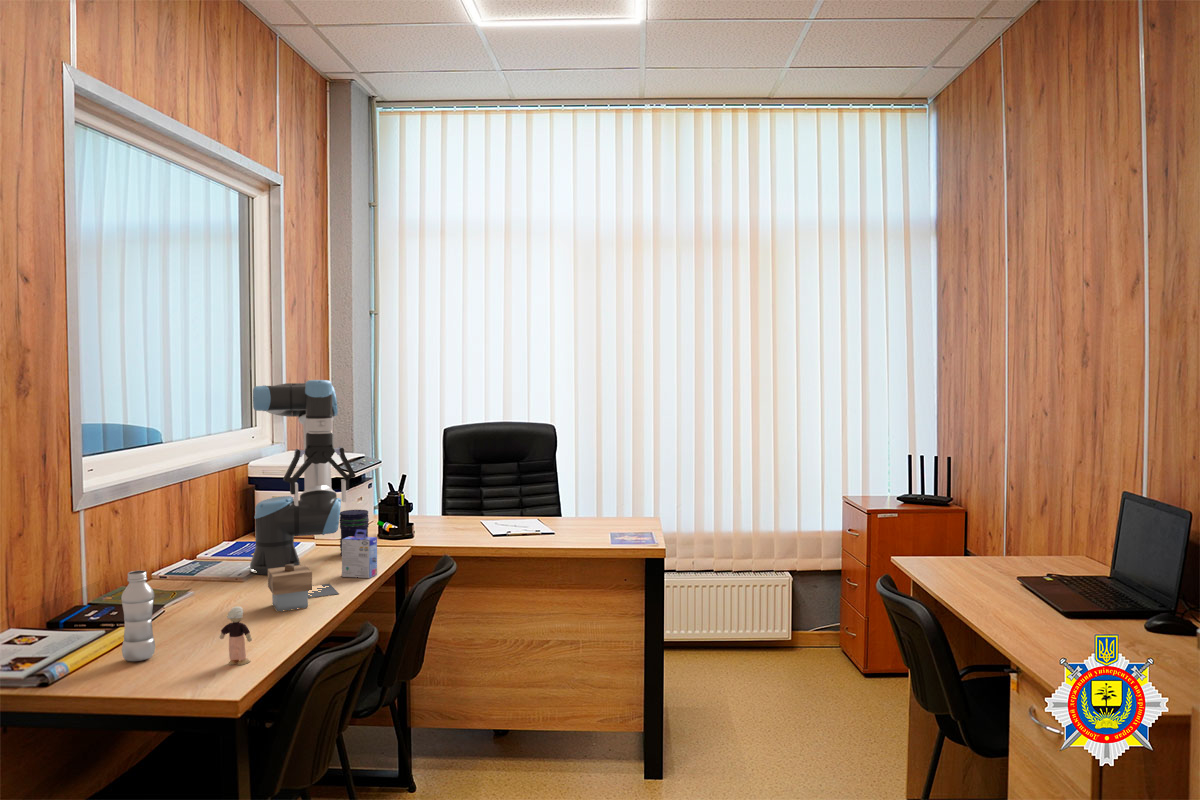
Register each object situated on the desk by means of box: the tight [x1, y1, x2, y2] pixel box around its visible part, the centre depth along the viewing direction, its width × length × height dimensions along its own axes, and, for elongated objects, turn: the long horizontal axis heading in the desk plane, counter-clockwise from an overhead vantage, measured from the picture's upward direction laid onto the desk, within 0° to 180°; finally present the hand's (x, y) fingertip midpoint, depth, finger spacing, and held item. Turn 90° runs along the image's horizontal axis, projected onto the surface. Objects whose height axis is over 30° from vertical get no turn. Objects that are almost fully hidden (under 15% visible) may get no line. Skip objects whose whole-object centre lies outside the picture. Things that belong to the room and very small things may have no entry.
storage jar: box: [339, 509, 370, 556], centre depth 294 cm, size 10×10×15 cm
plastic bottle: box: [120, 570, 156, 662], centre depth 188 cm, size 6×7×20 cm
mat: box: [308, 582, 340, 599], centre depth 245 cm, size 13×13×1 cm
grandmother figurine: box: [218, 606, 253, 666], centre depth 186 cm, size 8×4×13 cm, turn 92°
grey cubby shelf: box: [271, 591, 309, 612], centre depth 230 cm, size 8×8×5 cm
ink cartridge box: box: [341, 529, 378, 579], centre depth 263 cm, size 10×6×14 cm, turn 78°
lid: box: [267, 564, 313, 595], centre depth 230 cm, size 10×10×6 cm
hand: (320, 503), depth 247 cm, fingers open, 13 cm apart
